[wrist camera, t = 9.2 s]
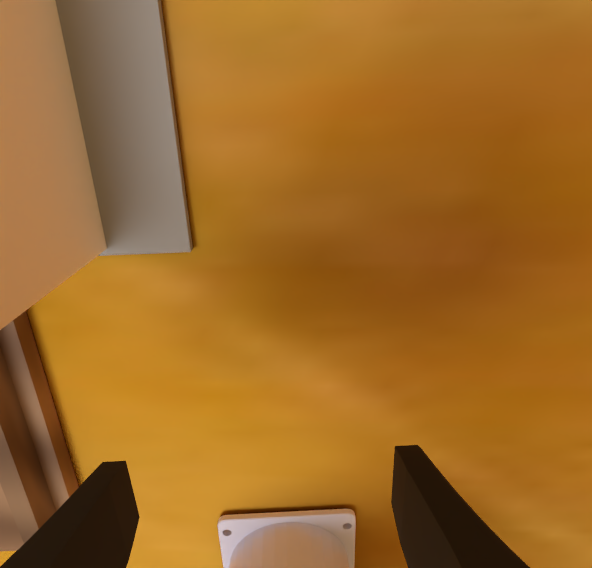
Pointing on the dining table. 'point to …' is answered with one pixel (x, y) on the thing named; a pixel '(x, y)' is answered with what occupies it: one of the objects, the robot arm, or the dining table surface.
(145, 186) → the mat
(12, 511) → the rack
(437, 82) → the dining table surface
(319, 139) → the dining table surface
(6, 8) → the cream rectangular block
